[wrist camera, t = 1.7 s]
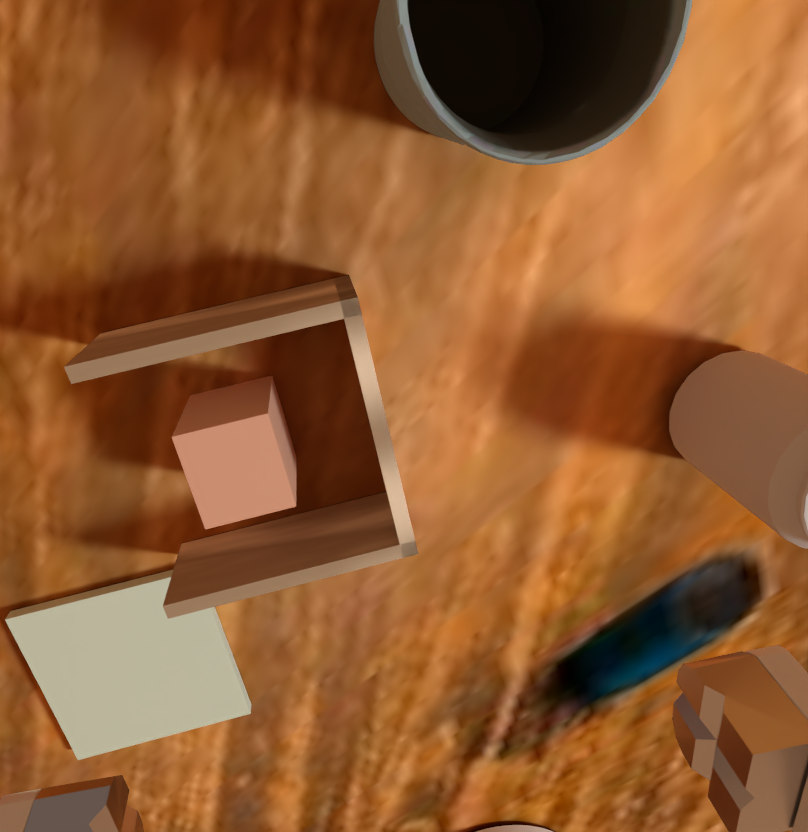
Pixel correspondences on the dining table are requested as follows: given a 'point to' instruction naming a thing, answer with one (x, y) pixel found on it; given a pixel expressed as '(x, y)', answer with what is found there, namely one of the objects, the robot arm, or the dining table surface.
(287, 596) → the dining table surface
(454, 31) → the grey cup
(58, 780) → the dining table surface
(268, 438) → the block
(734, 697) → the robot arm
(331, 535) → the open box
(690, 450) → the can
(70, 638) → the green mat
